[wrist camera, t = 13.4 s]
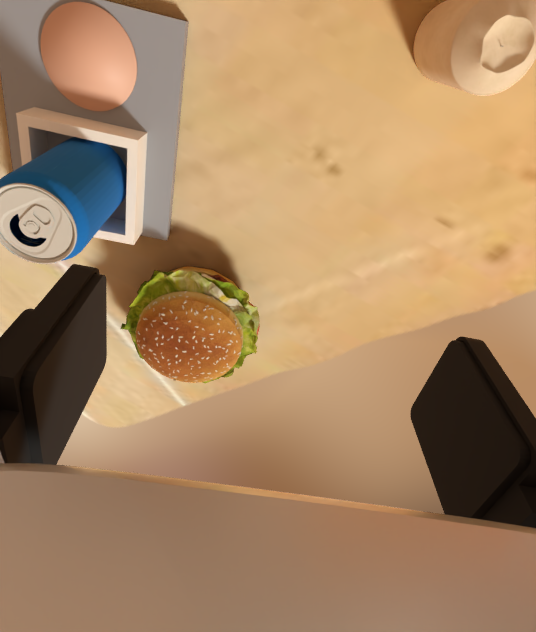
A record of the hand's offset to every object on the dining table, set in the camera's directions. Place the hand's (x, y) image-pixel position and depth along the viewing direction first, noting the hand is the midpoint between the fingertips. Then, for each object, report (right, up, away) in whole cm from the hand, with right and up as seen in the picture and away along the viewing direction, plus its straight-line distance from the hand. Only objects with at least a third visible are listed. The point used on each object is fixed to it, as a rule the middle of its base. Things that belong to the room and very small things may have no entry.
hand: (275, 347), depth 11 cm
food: (-8, +2, +36) cm, 37 cm away
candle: (+14, +22, +21) cm, 34 cm away
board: (-15, +17, +25) cm, 34 cm away
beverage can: (-16, +14, +26) cm, 34 cm away
